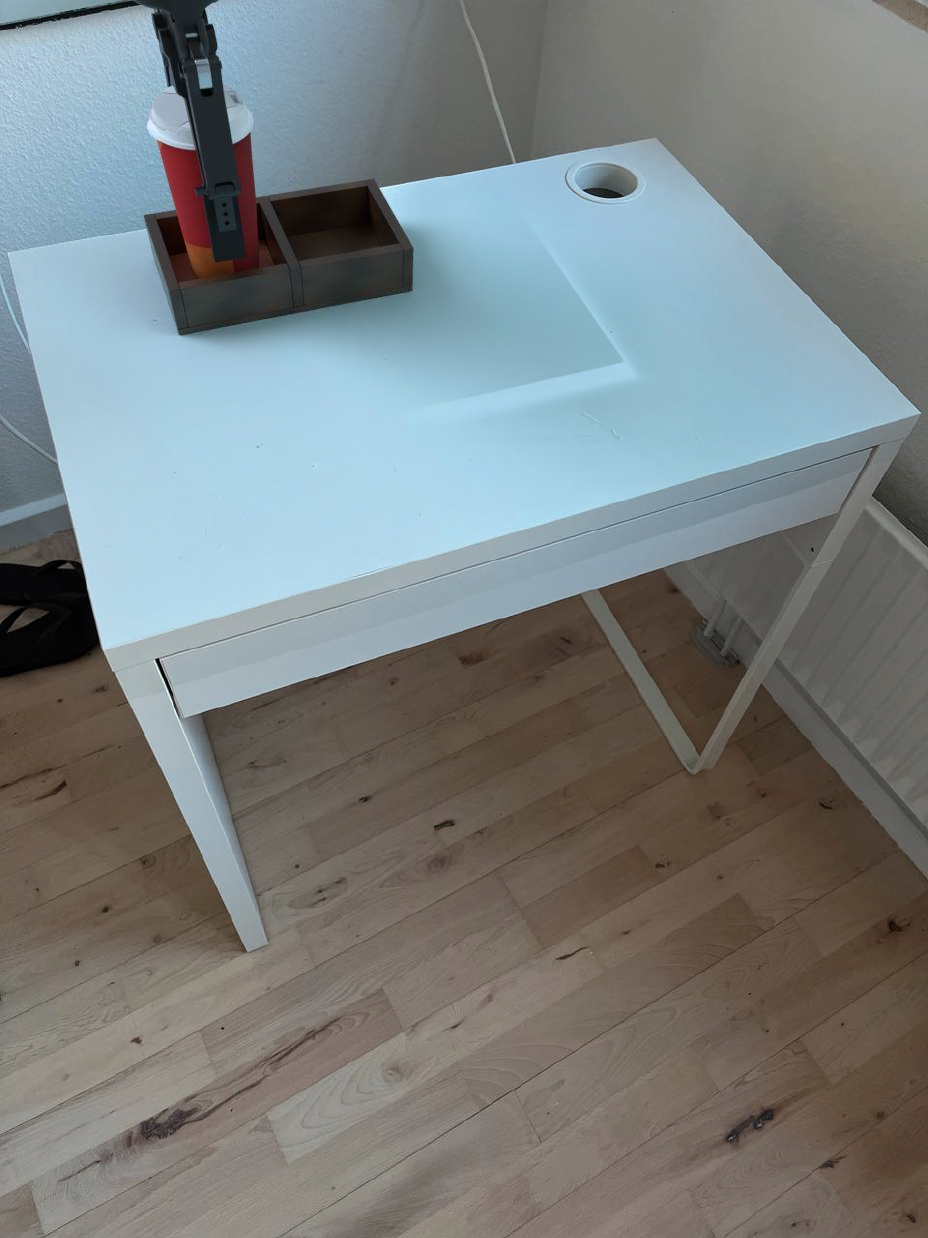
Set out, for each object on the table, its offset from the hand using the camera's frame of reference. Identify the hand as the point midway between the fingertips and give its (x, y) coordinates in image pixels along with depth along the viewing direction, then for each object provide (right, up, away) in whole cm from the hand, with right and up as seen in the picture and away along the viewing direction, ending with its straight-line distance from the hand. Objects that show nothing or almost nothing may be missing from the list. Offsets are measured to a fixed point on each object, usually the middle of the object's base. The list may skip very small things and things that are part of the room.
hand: (218, 227), depth 83 cm
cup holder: (+5, -2, +6) cm, 8 cm away
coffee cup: (0, -2, +4) cm, 4 cm away
